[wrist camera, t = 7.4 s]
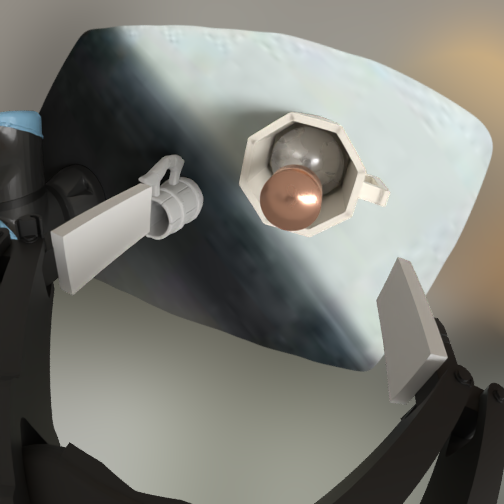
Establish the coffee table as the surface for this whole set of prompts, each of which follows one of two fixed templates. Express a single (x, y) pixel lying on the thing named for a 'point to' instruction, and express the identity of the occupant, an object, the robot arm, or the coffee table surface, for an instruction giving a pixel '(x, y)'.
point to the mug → (171, 198)
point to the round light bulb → (300, 177)
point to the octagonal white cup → (333, 203)
